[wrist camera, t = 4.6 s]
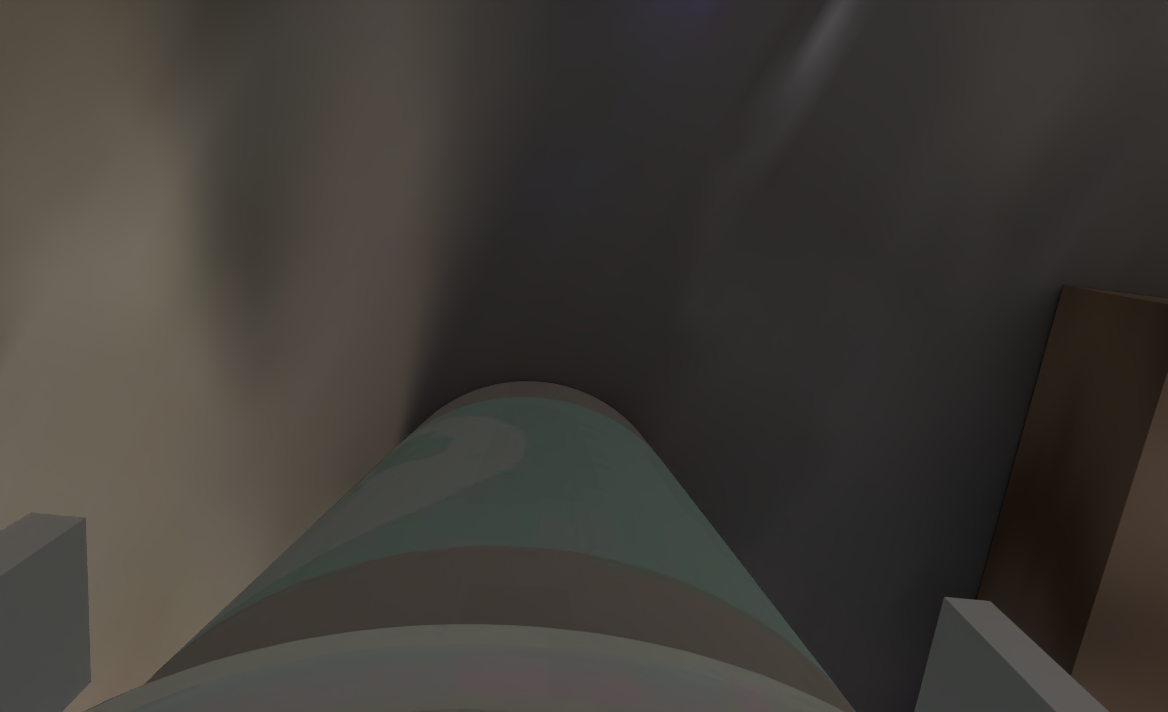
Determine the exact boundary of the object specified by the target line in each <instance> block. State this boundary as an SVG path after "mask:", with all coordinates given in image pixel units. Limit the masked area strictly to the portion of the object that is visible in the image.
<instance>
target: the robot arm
mask: <svg viewBox="0 0 1168 712" xmlns="http://www.w3.org/2000/svg"><path fill="white" fill-rule="evenodd" d="M90 682H91V668H90V637H89V606H88V574H87V543H86V518H83V517H72V516H61V515H51V514H40V513H30V514H28V515H26V516H25V517H23V518H21V519H20V520H18V521H16V522H15V523H13V524H12V525H10V526H8V527H7V528H5V529H3V530H2V531H0V712H62V711H63V710H64V709H65V708H66V707H67V706H68V705H69V704H70V703H71V702H72V701H73V700H74V699H75V698H76V697H77V695H78V694H79V693H80V692H81V691H82V690H83V689H84V688H85V687H86V686H87V685H88V684H89V683H90ZM914 712H1109V711H1108V710H1107V709H1106V708H1105V707H1104V706H1103V705H1101V704H1100V703H1099V702H1098V701H1097V700H1096V699H1095V698H1094V697H1093V696H1092V695H1091V694H1090V693H1089V692H1087V691H1086V690H1085V689H1084V688H1083V687H1082V686H1081V685H1080V684H1079V683H1078V682H1077V681H1076V680H1075V679H1073V678H1072V677H1071V676H1070V675H1069V674H1068V673H1067V672H1066V671H1065V670H1064V669H1063V668H1062V667H1061V666H1059V665H1058V664H1057V663H1056V662H1055V661H1054V660H1053V659H1052V658H1051V657H1050V656H1049V655H1048V654H1047V653H1045V652H1044V651H1043V650H1042V649H1041V648H1040V647H1039V646H1038V645H1037V644H1036V643H1035V642H1034V641H1033V640H1031V639H1030V638H1029V637H1028V636H1027V635H1026V634H1025V633H1024V632H1023V631H1022V630H1021V629H1020V628H1019V627H1017V626H1016V625H1015V624H1014V623H1013V622H1012V621H1011V620H1010V619H1009V618H1008V617H1007V616H1006V615H1005V614H1003V613H1002V612H1001V611H1000V610H999V609H998V608H997V607H996V606H995V605H994V604H993V603H992V602H991V601H984V600H973V599H962V598H951V597H944V599H943V603H942V607H941V611H940V614H939V618H938V622H937V626H936V630H935V634H934V638H933V641H932V645H931V649H930V653H929V657H928V661H927V665H926V668H925V672H924V676H923V680H922V684H921V688H920V692H919V695H918V699H917V703H916V707H915V711H914Z"/></svg>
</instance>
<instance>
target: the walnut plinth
mask: <svg viewBox="0 0 1168 712" xmlns="http://www.w3.org/2000/svg"><path fill="white" fill-rule="evenodd" d="M976 600H984V601H991V602H992V603H993V604H994V605H995V606H996V607H997V608H998V609H999V610H1000V611H1001V612H1002V613H1003V614H1005V615H1006V616H1007V617H1008V618H1009V619H1010V620H1011V621H1012V622H1013V623H1014V624H1015V625H1016V626H1017V627H1019V628H1020V629H1021V630H1022V631H1023V632H1024V633H1025V634H1026V635H1027V636H1028V637H1029V638H1030V639H1031V640H1033V641H1034V642H1035V643H1036V644H1037V645H1038V646H1039V647H1040V648H1041V649H1042V650H1043V651H1044V652H1045V653H1047V654H1048V655H1049V656H1050V657H1051V658H1052V659H1053V660H1054V661H1055V662H1056V663H1057V664H1058V665H1059V666H1061V667H1062V668H1063V669H1064V670H1065V671H1066V672H1067V673H1068V674H1069V675H1070V676H1071V677H1072V678H1073V679H1075V680H1076V681H1077V682H1078V683H1079V684H1080V685H1081V686H1082V687H1083V688H1084V689H1085V690H1086V691H1087V692H1089V693H1090V694H1091V695H1092V696H1093V697H1094V698H1095V699H1096V700H1097V701H1098V702H1099V703H1100V704H1101V705H1103V706H1104V707H1105V708H1106V709H1107V710H1108V711H1109V712H1168V298H1162V297H1154V296H1146V295H1138V294H1130V293H1122V292H1114V291H1106V290H1098V289H1089V288H1081V287H1073V286H1065V285H1063V288H1062V292H1061V296H1060V299H1059V303H1058V306H1057V310H1056V314H1055V317H1054V321H1053V324H1052V328H1051V332H1050V335H1049V339H1048V343H1047V346H1046V350H1045V353H1044V357H1043V361H1042V364H1041V368H1040V372H1039V375H1038V379H1037V382H1036V386H1035V390H1034V393H1033V397H1032V400H1031V404H1030V408H1029V411H1028V415H1027V419H1026V422H1025V426H1024V429H1023V433H1022V437H1021V440H1020V444H1019V447H1018V451H1017V455H1016V458H1015V462H1014V466H1013V469H1012V473H1011V476H1010V480H1009V484H1008V487H1007V491H1006V494H1005V498H1004V502H1003V505H1002V509H1001V513H1000V516H999V520H998V523H997V527H996V531H995V534H994V538H993V541H992V545H991V549H990V552H989V556H988V560H987V563H986V567H985V570H984V574H983V578H982V581H981V585H980V588H979V592H978V596H977V599H976Z"/></svg>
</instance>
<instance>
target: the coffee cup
mask: <svg viewBox="0 0 1168 712" xmlns="http://www.w3.org/2000/svg"><path fill="white" fill-rule="evenodd" d="M84 712H856V711H855V710H854V708H853V707H852V706H851V704H850V703H849V702H848V701H847V699H846V698H845V697H844V695H843V694H842V693H841V692H840V690H839V689H838V688H837V686H836V685H835V684H834V683H833V681H832V680H831V679H830V677H829V676H828V675H827V673H826V672H825V671H824V670H823V668H822V667H821V666H820V664H819V663H818V662H817V661H816V659H815V658H814V657H813V655H812V654H811V653H810V652H809V650H808V649H807V648H806V646H805V645H804V644H803V642H802V641H801V640H800V639H799V637H798V636H797V635H796V633H795V632H794V631H793V630H792V628H791V627H790V626H789V624H788V623H787V622H786V620H785V619H784V618H783V617H782V615H781V614H780V613H779V611H778V610H777V609H776V608H775V606H774V605H773V604H772V602H771V601H770V600H769V599H768V597H767V596H766V595H765V593H764V592H763V591H762V589H761V588H760V587H759V586H758V584H757V583H756V582H755V580H754V579H753V578H752V577H751V575H750V574H749V573H748V571H747V570H746V569H745V568H744V566H743V565H742V564H741V562H740V561H739V560H738V558H737V557H736V556H735V555H734V553H733V552H732V551H731V549H730V548H729V547H728V546H727V544H726V543H725V542H724V540H723V539H722V538H721V537H720V535H719V534H718V533H717V531H716V530H715V529H714V527H713V526H712V525H711V524H710V522H709V521H708V520H707V518H706V517H705V516H704V515H703V513H702V512H701V511H700V509H699V508H698V507H697V506H696V504H695V503H694V502H693V500H692V499H691V498H690V496H689V495H688V494H687V493H686V491H685V490H684V489H683V487H682V486H681V485H680V484H679V482H678V481H677V480H676V478H675V477H674V476H673V474H672V473H671V472H670V471H669V469H668V468H667V467H666V465H665V464H664V463H663V462H662V460H661V459H660V458H659V457H658V456H657V454H656V453H655V452H654V451H653V449H652V448H651V447H650V446H649V444H648V443H647V442H646V440H645V439H644V438H643V437H642V435H641V434H640V433H639V432H638V431H637V429H636V428H635V427H634V426H633V425H632V424H631V423H630V422H629V421H628V420H627V419H626V418H625V417H624V416H622V415H621V414H620V413H619V412H617V411H616V410H615V409H613V408H612V407H610V406H609V405H607V404H606V403H604V402H602V401H601V400H599V399H597V398H595V397H593V396H591V395H589V394H587V393H584V392H582V391H579V390H576V389H573V388H570V387H567V386H563V385H558V384H553V383H547V382H536V381H518V382H507V383H500V384H495V385H491V386H487V387H484V388H480V389H477V390H475V391H472V392H469V393H467V394H465V395H463V396H460V397H458V398H457V399H455V400H453V401H451V402H449V403H448V404H446V405H445V406H443V407H441V408H440V409H439V410H438V411H436V412H435V413H434V414H432V415H431V416H430V417H429V418H428V419H427V420H426V421H424V422H423V423H422V424H421V425H420V426H419V427H418V428H417V429H416V430H415V431H413V432H412V433H411V434H410V435H409V436H408V437H407V438H406V439H405V440H404V441H402V442H401V443H400V444H399V445H398V446H397V447H396V448H395V449H394V450H393V451H391V452H390V453H389V454H388V455H387V456H386V457H385V458H384V459H383V460H382V461H381V462H380V463H379V464H378V465H377V466H376V467H374V468H373V469H372V470H371V471H370V472H369V473H368V474H367V475H366V476H365V477H364V478H363V479H362V480H361V481H360V482H358V483H357V484H356V485H355V486H354V487H353V488H352V489H351V490H350V491H349V492H348V493H347V494H346V495H345V496H344V497H343V498H341V499H340V500H339V501H338V502H337V503H336V504H335V505H334V506H333V507H332V508H331V509H330V510H329V511H328V512H327V513H325V514H324V515H323V516H322V517H321V518H320V519H319V520H318V521H317V522H316V523H315V524H314V525H313V526H312V527H311V528H310V529H308V530H307V531H306V532H305V533H304V534H303V535H302V536H301V537H300V538H299V539H298V540H297V541H296V542H295V543H294V544H292V545H291V546H290V547H289V548H288V549H287V550H286V551H285V552H284V553H283V554H282V555H281V556H280V557H279V558H278V559H277V560H275V561H274V562H273V563H272V564H271V565H270V566H269V567H268V568H267V569H266V570H265V571H264V572H263V573H262V574H261V575H260V576H258V577H257V578H256V579H255V580H254V581H253V582H252V583H251V584H250V585H249V586H248V587H247V588H246V589H245V590H244V591H242V592H241V593H240V594H239V595H238V596H237V597H236V598H235V599H234V600H233V601H232V602H231V603H230V604H229V605H228V606H227V607H225V608H224V609H223V610H222V611H221V612H220V613H219V614H218V615H217V616H216V617H215V618H214V619H213V620H212V621H211V622H209V623H208V624H207V625H206V626H205V627H204V628H203V629H202V630H201V631H200V632H199V633H198V634H197V635H196V636H195V637H194V638H192V639H191V640H190V641H189V642H188V643H187V644H186V645H185V646H184V647H183V648H182V649H181V650H180V651H179V652H178V653H176V654H175V655H174V656H173V657H172V658H171V659H170V660H169V661H168V662H167V663H166V664H165V665H164V666H163V667H162V668H161V669H159V670H158V671H157V672H156V673H155V674H154V676H153V677H152V678H151V679H149V680H148V681H147V682H146V683H145V684H144V685H142V686H140V687H137V688H135V689H132V690H130V691H128V692H125V693H123V694H121V695H119V696H116V697H114V698H112V699H109V700H107V701H105V702H103V703H101V704H99V705H97V706H95V707H92V708H90V709H88V710H86V711H84Z"/></svg>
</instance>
